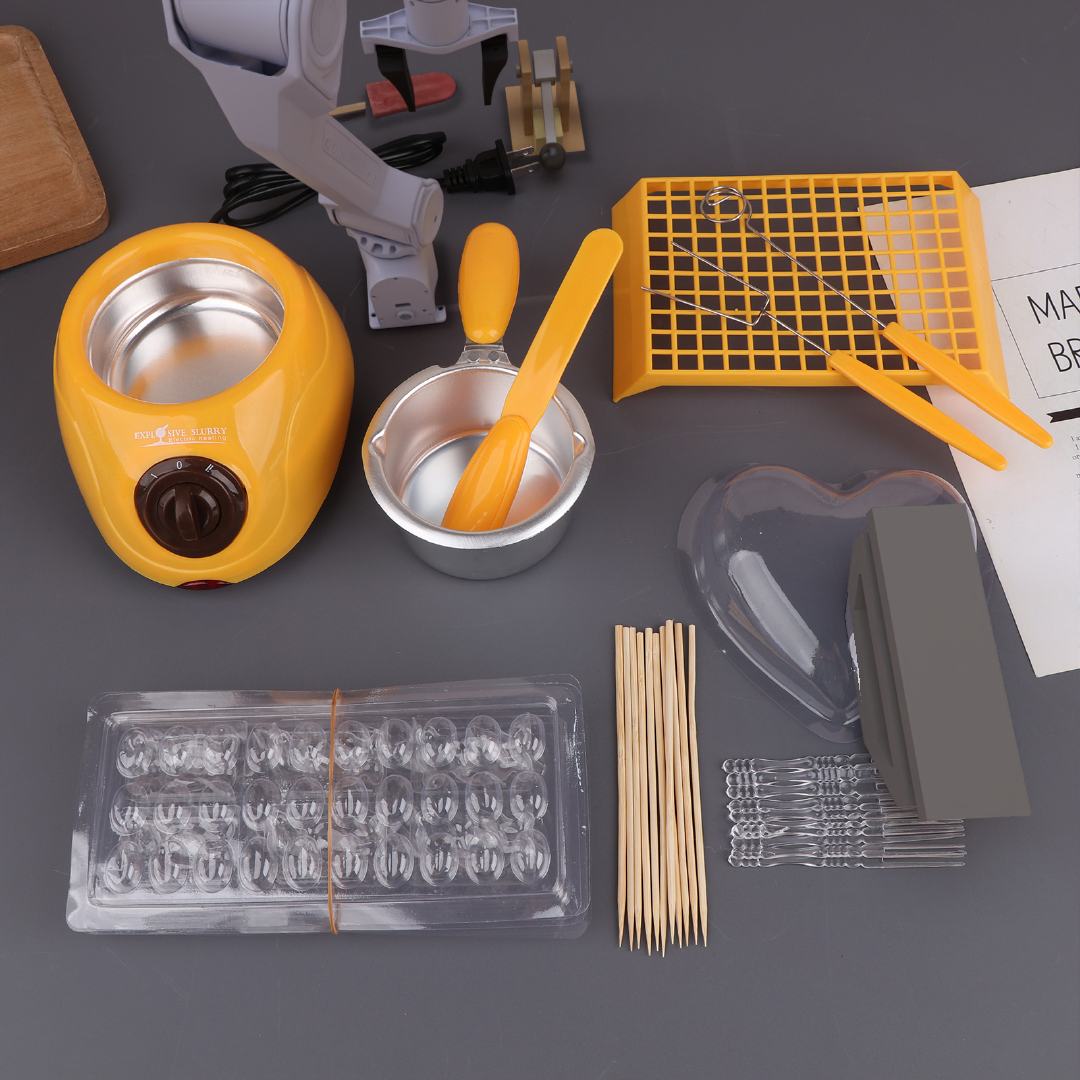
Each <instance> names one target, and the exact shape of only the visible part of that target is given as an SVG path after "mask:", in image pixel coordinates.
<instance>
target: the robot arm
mask: <svg viewBox="0 0 1080 1080" xmlns="http://www.w3.org/2000/svg"><path fill="white" fill-rule="evenodd" d="M402 1H403V6H404V8H401V9H398V10H396V11H393V12H389V13H388V14H384V15H382V16H380V17H376V18H372V19H368V20H360V21H359V33H360V34H359V35H360V41H361V45H362V50H363V52H364V55H373V54H375V53H376V60H377V68H378V70H379V72H380V74H381V76H382V77H384V78H385V79H387V80H389V81H390V82H391V83H392V84H393V85H394V86H395V88H396V89H397V90H398V92H399V93H400V95H401V96H402V98H403V100H404V101H405V103H406V105H407V108H408V110H407V111H408V112H409V113H416V112H417V110H416V109H417V108H416V107H415V94H414V88H413V83H412V80H411V76H412V75H411V72H410V68H409V64H408V59H407V53H406V50H409V51H413V52H414V51H415V52H419V53H425V54H430V55H447V54H451V53H454V52H455V51H459V50H462V49H465V48H468V47H470V46H472V45H475V44H478V43H480V50H481V83H482V84H481V85H482V94H483V104H484V106H486V107H487V106H491V105H492V99H493V94H494V89H495V86H496V83H497V81H498V78H499V76H500V74H501V73H502V71H503V69H504V68H505V67H506V66H507V63H508V59H509V47H508V43H514V42H518V41H519V40H520V39H519V21H518V11H517V8H516V7H510V8H505V7H504V8H503V7H494V6H489V5H484V4H478V3H473V2H469V1H468V0H402ZM161 2H162V8H163V14H164V21H165V26H166V27H165V28H166V33H167V39H168V44H169V45H170V46H171V47H172V48H173V49H174V50H176V51H177V52H178V53H179V55H181V56H182V57H183V58H184V59H186V60H187V61H188V62H189V63H190V64H192V65H193V66H194V67H195V68H196V69H197V70H198V71H199V72H200V73H201V75H202V76H203V78H204V80H205V81H206V83H207V85H208V87H209V89H210V90H211V93H212V94H213V96H214V98H215V99H216V101H217V103H218V105H219V107H220V108H221V111H222V112H223V114H224V116H225V118H226V119H227V121H228V123H229V125H230V127H231V129H232V130H233V132H234V134H235V135H236V137H237V139H238V140H239V141H240V142H241V143H242V144H243V145H244V146H245V147H246V148H248V149H249V150H251V151H252V152H254V153H255V154H257V155H259V156H260V157H262V158H264V159H265V160H267V161H268V162H270V163H272V164H273V165H274V166H276V167H278V168H279V169H281V170H282V171H284V172H286V173H287V174H288V175H290V176H291V177H293V178H295V179H296V180H298V181H300V182H301V183H303V184H304V185H306V186H307V187H309V188H311V189H312V190H314V191H315V192H317V193H318V198H317V199H318V200H317V201H318V203H319V204H320V205H321V206H323V207H324V209H325V211H326V213H327V216H328V218H329V220H330V222H331V224H333V225H335V226H338V227H345V230H346V233H347V236H348V237H350V238H351V237H352V239H354V240H355V241H356V244H357V247H358V250H359V252H360V255H361V256H360V257H361V258H362V259H361V260H362V262H363V266H364V268H365V271H366V282H367V303H368V321H369V322H368V323H369V327H370V328H371V329H372V330H382V329H391V328H402V327H411V326H412V327H413V326H420V325H431V324H441V323H444V322H446V320H447V310H446V304H438V305H436V300H435V299H436V297H435V292H436V287H437V285H438V284H437V283H438V280H439V270H438V265H437V259H436V256H435V250H434V245H433V241H434V240H435V238H436V237H437V235H438V232H439V229H440V226H441V224H442V223H441V222H442V219H443V215H444V204H445V203H444V202H445V201H444V200H445V199H444V193H443V189H442V188H441V185H440V183H439V181H438V180H436V179H434V178H431V177H429V178H423V177H420V176H418V175H417V176H416V175H413V174H410V173H407V172H404V171H402V170H400V169H398V168H395V167H392V166H390V165H389V164H387V163H386V162H385V161H384V160H383V159H382V158H380V157H379V156H378V155H377V154H376V153H375V152H373V151H372V150H371V149H370V148H369V147H368V146H367V145H365V143H363V142H362V141H361V140H360V139H359V138H357V137H356V136H355V135H354V134H353V133H352V132H351V131H350V130H348V129H347V128H346V127H345V126H344V125H343V124H342V123H340V122H339V120H337V119H336V118H334V116H331V115H330V114H329V113H328V112H330V111H333V110H335V109H336V108H337V107H338V106H337V105H338V97H339V95H338V94H339V92H340V86H341V76H342V65H343V55H344V43H345V37H346V31H347V21H348V9H347V7H348V0H161ZM440 309H441V310H440Z"/></svg>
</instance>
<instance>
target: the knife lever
mask: <svg viewBox="0 0 1080 1080" xmlns="http://www.w3.org/2000/svg"><path fill="white" fill-rule="evenodd" d="M531 63H532V64H531V65H532V75H533V84H534V85H535V87H540V88H541V99H542V109H543V119H544V130H545V140H546V144H545V145H544V146H543V147H542V148H541V150H540V152H539V155H538V162H539V165H540V167H541V168H542V169H543V170H544V171H545V172H548V173H551V174H552V173H553V174H555V173H558V172H560V171H561V170H563V168H564V167H565V165H566V163H567V157H568V155H567V152H566V151H565V149H564V148H563V146H562V145H560V144H559V143H557V140H556V130H555V119H554V109H553V98H552V87H551V86H554V85H555V82H556V56H555V48H549V49H547V48H546V49H537V50H532V57H531Z"/></svg>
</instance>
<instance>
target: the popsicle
mask: <svg viewBox="0 0 1080 1080" xmlns="http://www.w3.org/2000/svg"><path fill="white" fill-rule="evenodd" d="M410 76H411V80H412V83H413V88H414V94H415V107H416V109H418V108H422V107H426V106H431V105H435V104H438V103H442V102H445V101H448V100H449V99H451V98H452V97H453V96H454V95H455V93H456V92H457V91H456V89H457V83H456V81H455V79H453V77H452V76H451V75H450V74H447V73H445V72H429V73H428V72H427V73H422V74H416V75H410ZM365 90H366V93H367V98H368V100H369V105H370V108H371V112H372V116H373V117H374V118H375V119H376V118H381V117H385V116H389V115H393V114H397V113H401V112H405V111H409V110H408V108H407V105H406V103H405V101H404V100H403V98H402V96H401V95H400V93H399V92H398V90H397V89H396V88H395V86H394V85H393V84H392V83H391V82H390V81H389V80H388V79H387V80H382V81H376V82H371V83H367V84H366V85H365ZM366 109H367V105H366V101H362V102H355V103H352V104H346V105H343V106H342V105H341V106H336V109H335V110H333V111H330V112H328V113H329V114H330V115H331V116H332V117H336V116H341V115H345V114H350V113H355V112H360V111H365V110H366Z"/></svg>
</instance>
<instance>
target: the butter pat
mask: <svg viewBox="0 0 1080 1080" xmlns="http://www.w3.org/2000/svg"><path fill="white" fill-rule="evenodd" d="M553 109H554V119H555V130H556V140H557V143H559V144H560V145H562V146H563V132H562V125H561V118H560V111H559V107H558V108H553ZM533 135H534V142H535V150H536V155H535V156H538V155H537V154H539V152H540V150H541V148H542V147H543V146H544V145H545V144H546V140H545V130H544V119H543V109H537V110H533Z"/></svg>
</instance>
